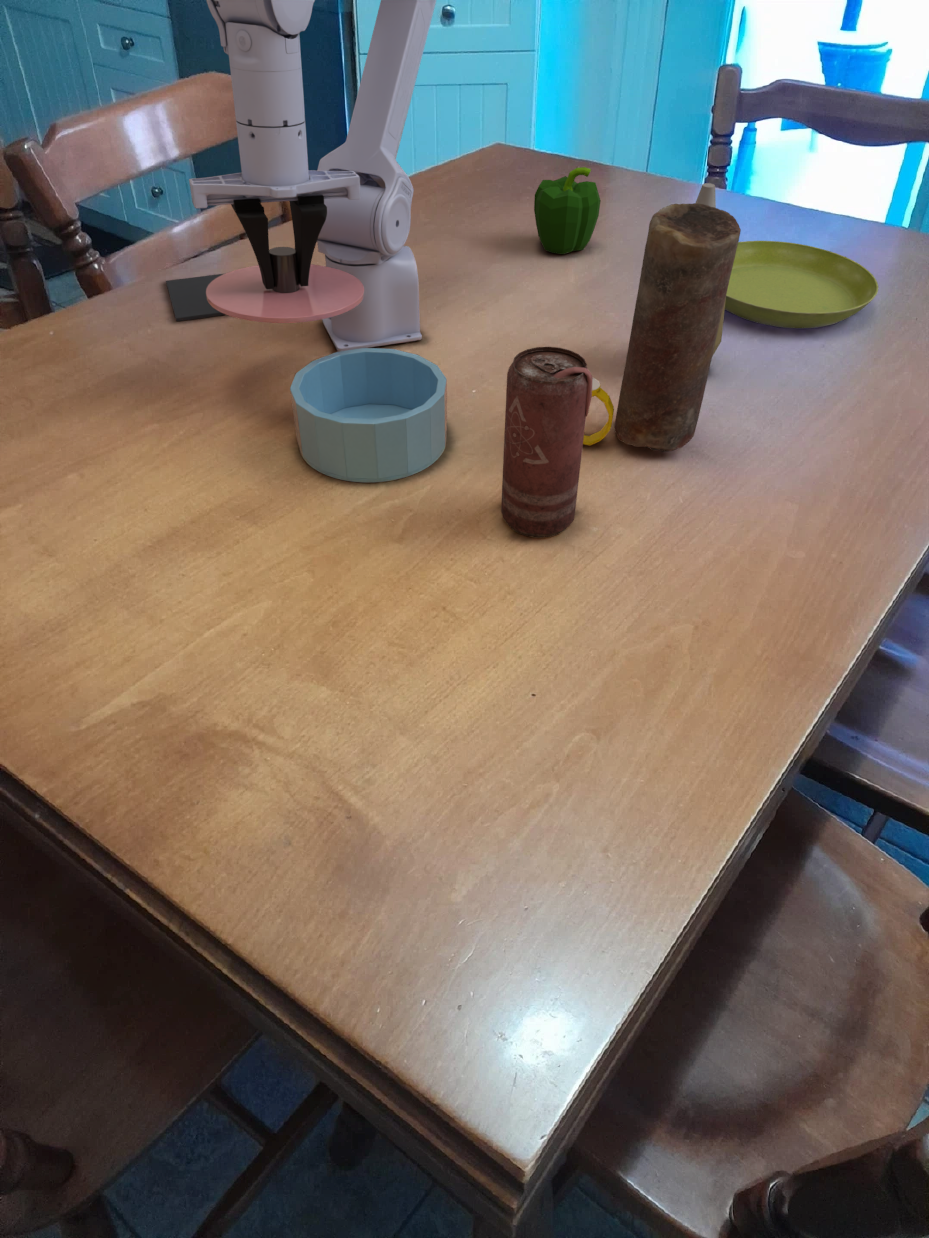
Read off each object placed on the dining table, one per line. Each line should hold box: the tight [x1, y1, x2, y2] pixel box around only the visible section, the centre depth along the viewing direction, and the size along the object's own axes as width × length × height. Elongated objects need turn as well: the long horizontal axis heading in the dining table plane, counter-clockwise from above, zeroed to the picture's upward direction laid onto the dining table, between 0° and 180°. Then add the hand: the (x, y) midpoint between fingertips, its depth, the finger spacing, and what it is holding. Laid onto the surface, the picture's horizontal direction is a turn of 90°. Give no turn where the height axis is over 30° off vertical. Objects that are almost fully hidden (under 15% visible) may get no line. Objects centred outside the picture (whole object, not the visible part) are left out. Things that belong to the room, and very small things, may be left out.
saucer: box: [725, 240, 879, 329], centre depth 106 cm, size 21×21×3 cm
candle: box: [613, 202, 742, 452], centre depth 77 cm, size 8×7×20 cm
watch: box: [583, 377, 615, 447], centre depth 82 cm, size 6×3×6 cm, turn 79°
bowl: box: [289, 347, 448, 483], centre depth 82 cm, size 14×14×6 cm
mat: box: [165, 273, 227, 322], centre depth 107 cm, size 11×11×1 cm
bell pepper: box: [533, 166, 602, 255], centre depth 115 cm, size 8×8×10 cm
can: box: [500, 346, 594, 539], centre depth 70 cm, size 6×6×14 cm
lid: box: [206, 246, 364, 324], centre depth 84 cm, size 15×15×4 cm
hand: (285, 284), depth 84 cm, fingers closed on lid, 2 cm apart
